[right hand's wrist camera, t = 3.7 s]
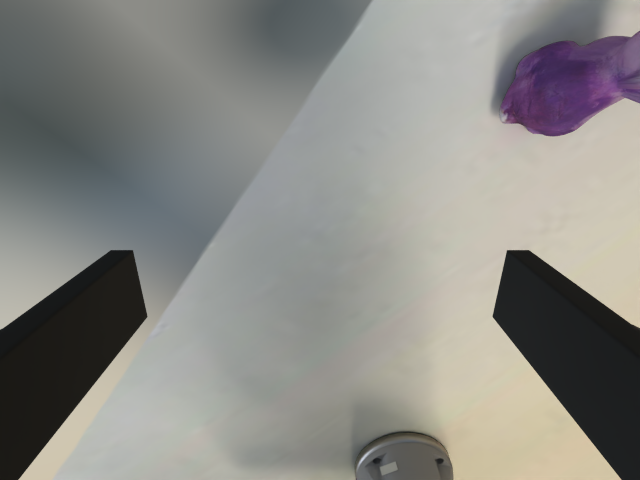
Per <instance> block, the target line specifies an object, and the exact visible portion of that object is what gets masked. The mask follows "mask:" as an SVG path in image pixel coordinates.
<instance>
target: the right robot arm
mask: <svg viewBox="0 0 640 480" xmlns="http://www.w3.org/2000/svg"><path fill="white" fill-rule="evenodd" d="M146 318H147V313H146V308H145V303H144V299H143V294H142V290H141V285H140V281H139V276H138V272H137V267H136V263H135V258H134V253H133V250H111V251H109V252H108V253H107V254H105V255H104V256H102V257H101V258H100V259H98V260H97V261H96V262H94V263H93V264H91V265H90V266H89V267H87V268H86V269H85V270H83V271H82V272H80V273H79V274H78V275H76V276H75V277H73V278H72V279H71V280H69V281H68V282H67V283H65V284H64V285H63V286H61V287H60V288H58V289H57V290H56V291H54V292H53V293H51V294H50V295H49V296H47V297H46V298H44V299H43V300H42V301H40V302H39V303H38V304H36V305H35V306H33V307H32V308H31V309H29V310H28V311H27V312H25V313H24V314H22V315H21V316H20V317H18V318H17V319H15V320H14V321H13V322H11V323H10V324H9V325H7V326H6V327H4V328H3V329H1V330H0V480H18V479H19V478H20V477H21V476H22V474H23V473H24V472H25V471H26V469H27V468H28V467H29V465H30V464H31V463H32V462H33V460H34V459H35V458H36V457H37V455H38V454H39V453H40V452H41V450H42V449H43V448H44V447H45V445H46V444H47V443H48V442H49V440H50V439H51V438H52V437H53V435H54V434H55V433H56V431H57V430H58V429H59V428H60V426H61V425H62V424H63V423H64V421H65V420H66V419H67V418H68V416H69V415H70V414H71V413H72V411H73V410H74V409H75V407H76V406H77V405H78V404H79V402H80V401H81V400H82V399H83V397H84V396H85V395H86V394H87V392H88V391H89V390H90V389H91V387H92V386H93V385H94V384H95V382H96V381H97V380H98V378H99V377H100V376H101V375H102V373H103V372H104V371H105V370H106V368H107V367H108V366H109V365H110V363H111V362H112V361H113V359H114V358H115V357H116V356H117V354H118V353H119V352H120V351H121V349H122V348H123V347H124V346H125V344H126V343H127V342H128V341H129V339H130V338H131V337H132V336H133V334H134V333H135V332H136V331H137V329H138V328H139V327H140V325H141V324H142V323H143V322H144V320H145V319H146ZM493 318H494V319H495V320H496V322H497V323H498V324H499V325H500V327H501V328H502V329H503V331H504V332H505V333H506V334H507V336H508V337H509V338H510V339H511V341H512V342H513V343H514V344H515V346H516V347H517V348H518V349H519V351H520V352H521V353H522V354H523V356H524V357H525V358H526V360H527V361H528V362H529V363H530V365H531V366H532V367H533V368H534V370H535V371H536V372H537V373H538V375H539V376H540V377H541V378H542V380H543V381H544V382H545V384H546V385H547V386H548V387H549V389H550V390H551V391H552V392H553V394H554V395H555V396H556V397H557V399H558V400H559V401H560V402H561V404H562V405H563V406H564V407H565V409H566V410H567V411H568V413H569V414H570V415H571V416H572V418H573V419H574V420H575V421H576V423H577V424H578V425H579V426H580V428H581V429H582V430H583V431H584V433H585V434H586V435H587V437H588V438H589V439H590V440H591V442H592V443H593V444H594V445H595V447H596V448H597V449H598V450H599V452H600V453H601V454H602V455H603V457H604V458H605V459H606V461H607V462H608V463H609V464H610V466H611V467H612V468H613V469H614V471H615V472H616V473H617V474H618V476H619V477H620V478H621V479H622V480H640V328H638V327H636V326H634V325H631V324H630V323H629V322H627V321H626V320H625V319H623V318H622V317H620V316H619V315H618V314H616V313H615V312H613V311H612V310H611V309H609V308H608V307H607V306H605V305H604V304H602V303H601V302H600V301H598V300H597V299H596V298H594V297H593V296H591V295H590V294H589V293H587V292H586V291H584V290H583V289H582V288H580V287H579V286H578V285H576V284H575V283H573V282H572V281H571V280H569V279H568V278H567V277H565V276H564V275H562V274H561V273H560V272H558V271H557V270H555V269H554V268H553V267H551V266H550V265H549V264H547V263H546V262H544V261H543V260H542V259H540V258H539V257H538V256H536V255H535V254H533V253H532V252H531V251H529V250H507V253H506V258H505V262H504V267H503V272H502V276H501V281H500V285H499V290H498V294H497V299H496V303H495V308H494V313H493ZM355 473H356V480H453V468H452V464H451V461H450V459H449V456H448V453H447V451H446V450H445V448H444V447H443V446H442V445H441V444H440V443H439V442H437V441H436V440H434V439H433V438H430V437H428V436H425V435H422V434H417V433H396V434H391V435H387V436H384V437H381V438H379V439H377V440H375V441H373V442H371V443H370V444H369V445H367V446H366V447H365V448H364V449H363V450H362V451H361V453H360V454H359V456H358V458H357V460H356V464H355Z"/></svg>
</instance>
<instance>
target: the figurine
mask: <svg viewBox="0 0 640 480" xmlns="http://www.w3.org/2000/svg"><path fill="white" fill-rule="evenodd" d="M623 98H628V99H630V100H633V101H635V102H638V103H640V31H639V32H637V33H636V34H635V35H634V36H632V37H625V36H609V37H605V38H602V39H599V40H596V41H594V42H592V43H590V44H588V45H586V46H579V45H577V44H576V43H575V42H573V41H561V42H556V43H553V44H550V45H547V46H545V47H543V48H541V49H539V50H537V51H534V52H532V53H530V54H528V55H527V56H525V57H524V58H523V59H522V60H521V61H520V62H519V65H518V67H517V70H516V77H515V79H514V82H513V83H512V84H511V86H510V87H509V89H508V91H507V93H506V96H505V98H504V100H503V102H502V104H501V107H500V112H499V117H500V121H501V122H502V123H505V124H512V123H519V124H521V125H523V126H525V127H526V128H527V130H528V131H530V132H531V133H533V134H543V135H546V136H560V135H565V134H567V133H570V132H573V131H575V130H576V129H578V128H579V127H580V126H582V125H583V124H584V123H585V122H587V121H588V120H589V119H590V118H591V117H593V116H594V115H596V114H597V113H599V112H600V111H602V110H603V109H605V108H607V107H609V106H610V105H612V104H614V103H616V102H618V101H620V100H622V99H623Z"/></svg>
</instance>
